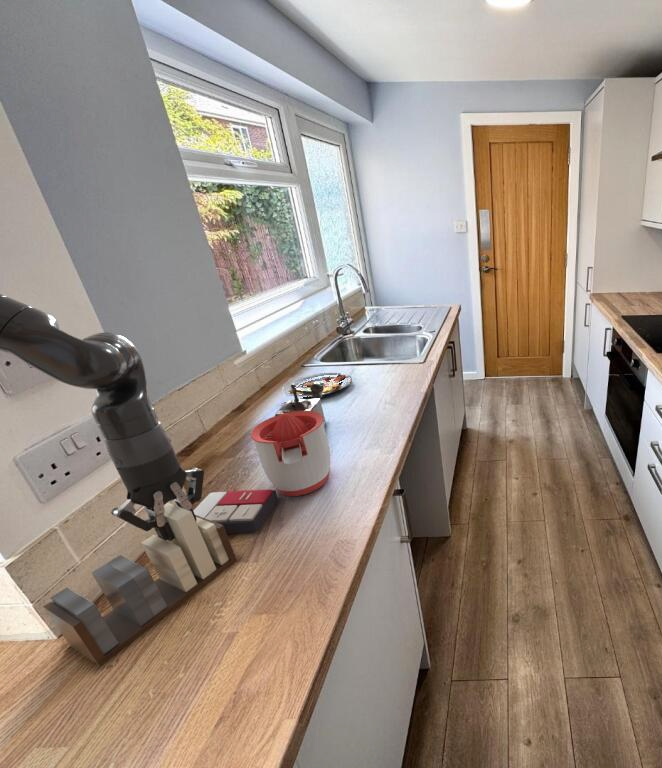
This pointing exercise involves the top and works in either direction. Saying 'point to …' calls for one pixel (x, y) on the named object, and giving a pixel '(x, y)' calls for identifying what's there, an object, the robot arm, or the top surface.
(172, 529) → the pale book
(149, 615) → the book trough
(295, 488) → the citrus juicer
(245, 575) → the top surface
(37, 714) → the top surface
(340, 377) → the food plate
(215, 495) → the calculator
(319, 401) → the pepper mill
